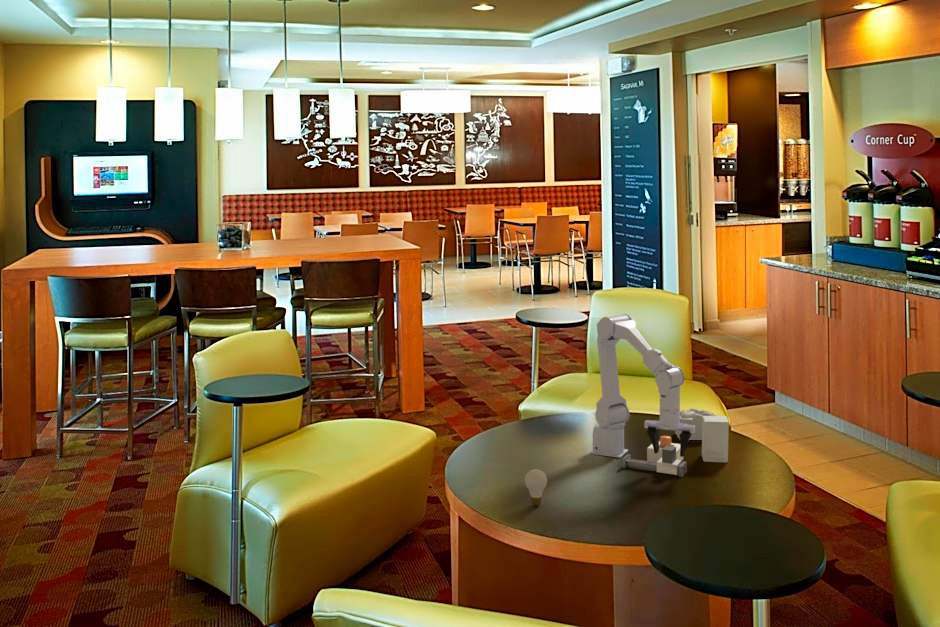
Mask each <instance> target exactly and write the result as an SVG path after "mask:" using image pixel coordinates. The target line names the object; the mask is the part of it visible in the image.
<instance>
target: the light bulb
mask: <svg viewBox="0 0 940 627" xmlns="http://www.w3.org/2000/svg"><path fill="white" fill-rule="evenodd" d="M524 484H525V486H526V488H527V490H528V491H529V492H528V493H529V495H530V499H531V500H530V501H531V502H530V503H531V504H532V505H533V506H535V507H539V506H540V505H541V504H542V496H543V492H544V490H545V488H546V486H547V484H548V478H547V475H546V473H545V472H544V471H543V470H541V469H538V468H537V469H536V468H534V469H530V470H529V471H528V472H527V473H526V474H525V476H524Z"/></svg>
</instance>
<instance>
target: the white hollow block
mask: <svg viewBox="0 0 940 627" xmlns="http://www.w3.org/2000/svg"><path fill="white" fill-rule="evenodd" d="M671 446H674V447H676V460H681V462H683V460H684V456H685V455H684V456H683V457H680V443H673V442H671ZM662 449H663V448H662V447H660V440H659V452H658V453H657V454H656V453H654V448H653V445H652V443H651V444H650V445H649V446H647V448H646V461H650V462H657V461H658V460H660V459H661V458H662Z"/></svg>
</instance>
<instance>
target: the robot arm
mask: <svg viewBox="0 0 940 627" xmlns="http://www.w3.org/2000/svg"><path fill="white" fill-rule="evenodd" d="M636 325H637V323H636V321H635V320H634V319H633V318H632V316H631V315H630V314H627V313H623V314H618V315H611V316H604V317H601V318H600V319H599V321H597V323H596V332H597V337H596V344H597V351H598V352H597V354H598V363H599V373H600V374H599V375H600V384H601V394H602V396H601V397H600V398H599V399H598V401H597V402H596V410H595V414H594V415H595V421H596V424H595V425H594V427H593V430H592V452H591V455H597V456H604V457H609V458H610V457H611V458H617V459H618V458H619V459H620V458H621V459H622V458H623V456H625V454H626V453H627V454H628V452H629V449H628V448H625V426H626V425H627V424H626V423H627V421H629V419H630V409H629V407H628V405H627V404H628V403H627V399H626V398H625V397H624V396H623V395H621V392H620V381H619V372H618V371H619V369H618V360H617V358H618V357H617V350H616V349H617V348H616V345H617V344H618V342H619V341H621V340H626V341H627V342H628V343H629V344H630V345H631V346H632V348H634V349H635V350H636V351H637V352H638V353H639V354H640V355H641V356H642V363H643V364H644V365H645V367H646V368H647V369H648V370H649V371H650V372H651V374H652V375H653V376H654V377H655V379H654V380H655V384H656V386H657V388H658V390H657V392H658V393H659V420H648V419H646V420H645V421H644V425H643V426H644V429H647V430H646V433H647V435H648V437H649V439H650V442H651V444H652V445H653V448H654V453H656V454H657V453H658V452H659V441H660V430H666V431H674V432H675V431H681V432H682V433H681V434H680V435H679V436H680V439H679V441H680V443H679V444H680V457H683V456H685V454H686V450H687V445H688V444H689V442H690V441H689V438H690V436H691V435H692V434H694V433H695V425H689V424H684V423H680V411H681V408H680V407H681V406H680V405H681V387H682V385H683V384H684V382H685V375H684V374H685V373H684V372H683V370H682V368H681V367H679V366H675V365H674V364H671V362H670V361H669V360H668V359H667V358H666V357H665V356H664V354H663V352H662V351H661V350H659V349H657V348H652V347H651V345H650V344H649V343H648V342H647V341H646V339H645V337H644V336H643V335H642V334H641V332H640V331H639V330H638V328H637V326H636Z"/></svg>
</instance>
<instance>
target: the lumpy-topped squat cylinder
mask: <svg viewBox="0 0 940 627" xmlns="http://www.w3.org/2000/svg"><path fill="white" fill-rule="evenodd" d="M703 416H717V414H715V413H712V412H709V411H708V410H706V409H700V410H699V409H697V408H695V407H694V408H689V409H688V410H686V409H684V410H680V423H684V424H689V425H695V433H694V434H692V435H691V436H690V438H689V440H702V420H703ZM674 432H675V434H676V435H677V436H676V435H675V436H676V437H677V439H678V438H679V439H678V440H680V436H679V435H680V434H681V433H682V432H681V431H674Z"/></svg>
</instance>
